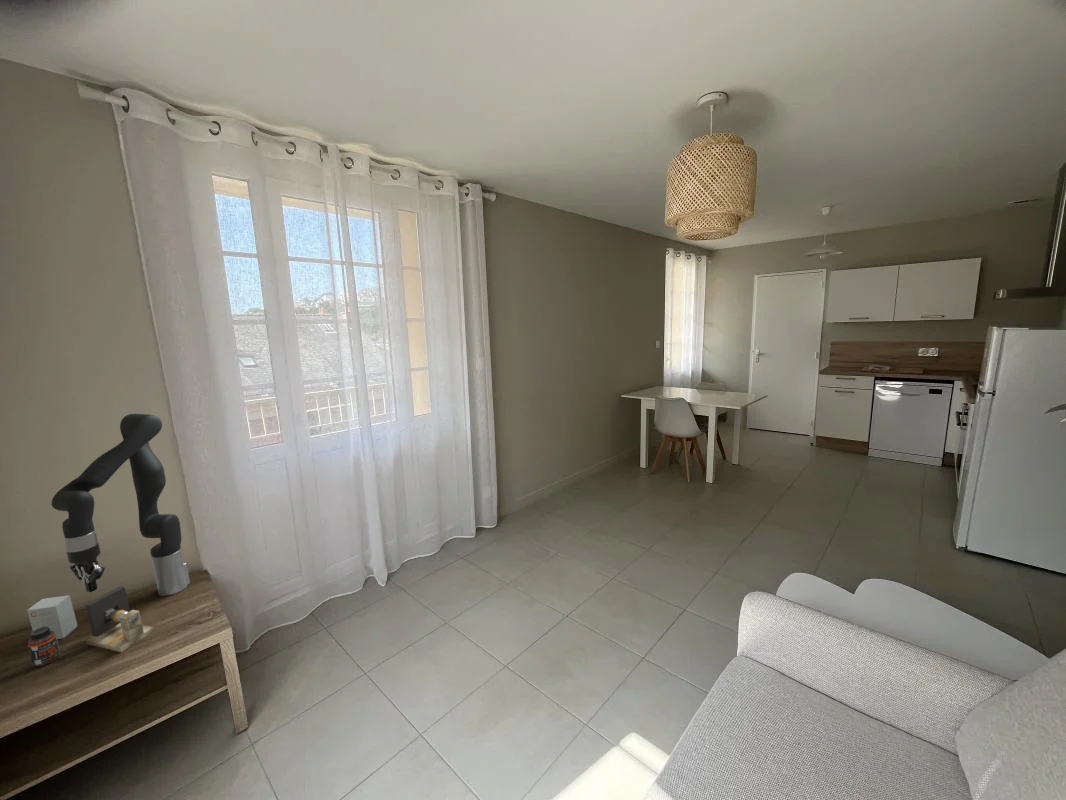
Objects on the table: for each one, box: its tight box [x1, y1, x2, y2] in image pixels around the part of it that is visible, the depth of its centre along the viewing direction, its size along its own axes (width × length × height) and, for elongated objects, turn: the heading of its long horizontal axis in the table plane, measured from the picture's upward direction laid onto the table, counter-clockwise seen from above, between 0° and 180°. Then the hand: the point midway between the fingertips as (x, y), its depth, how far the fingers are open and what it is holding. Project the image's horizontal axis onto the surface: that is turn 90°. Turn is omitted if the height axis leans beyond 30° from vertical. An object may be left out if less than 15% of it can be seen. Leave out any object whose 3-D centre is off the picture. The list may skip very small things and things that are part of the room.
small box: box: [26, 595, 78, 640], centre depth 146 cm, size 8×6×13 cm
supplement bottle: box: [27, 626, 61, 667], centre depth 135 cm, size 6×6×11 cm
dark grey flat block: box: [85, 585, 131, 637], centre depth 145 cm, size 10×2×12 cm, turn 167°
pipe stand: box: [85, 608, 155, 653], centre depth 145 cm, size 10×16×11 cm, turn 77°
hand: (92, 590), depth 144 cm, fingers closed
